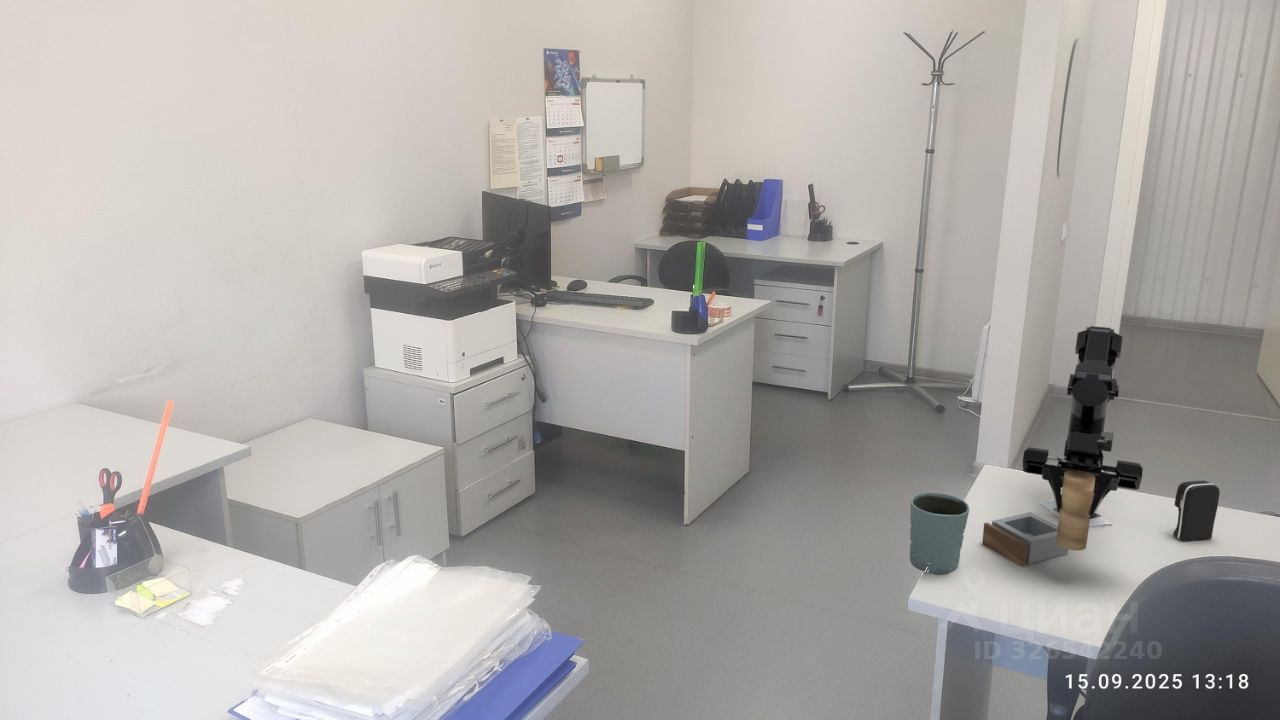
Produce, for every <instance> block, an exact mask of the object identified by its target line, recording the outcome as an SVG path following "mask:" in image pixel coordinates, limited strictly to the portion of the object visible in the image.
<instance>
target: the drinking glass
mask: <svg viewBox="0 0 1280 720" xmlns="http://www.w3.org/2000/svg"><path fill="white" fill-rule="evenodd" d="M909 502H910V508H909V509H910V529H909V530H910V547H909V561H910V563H911V565H912V566H913V567H914V568H915V569H917V570H918V571H922V572H924V571H925V570H926V568H927V567H928V568H927V570H926V572H925V573H927V571H928V570H929V571H928V572H929V573H928V574H932V575H948V574H951V573H953V572H955V571H956V570H957V569H958V568H959V563H960V558H961V549H962V547H963V542H964V537H965V536H964V533H965V530H966V527H967V523H968V518H969V513H970V506H969V504H968V503H967V502H966V501H965V500H963V499H962V498H959V497H958V496H957V497H956V496H954V495H950V494H946V493H939V492H923V493H918V494H916V495H913V496H912V497H911V498H910V501H909ZM929 563H930V564H929Z"/></svg>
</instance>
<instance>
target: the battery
mask: <svg viewBox="0 0 1280 720" xmlns="http://www.w3.org/2000/svg"><path fill="white" fill-rule="evenodd" d="M1176 489H1177V490H1176V493H1175V499H1174V506H1175V507H1176V508H1178V509H1177V511H1178V514H1177V515H1178V517H1177V523H1176V524H1177V525H1176V528H1175V529H1174V531H1173V536H1174V537H1176V539H1178V540H1179V541H1183V542H1184V541H1201V540H1208V539H1212V538H1213V530H1214V525H1215V521H1216V516H1217V512H1218V506H1219V500H1220V492H1221V491H1220V488H1219V487H1218V486H1217V485H1216V484H1214V483H1211V482H1210V481H1206V480H1191V481H1184V482H1181V483H1180V484H1179V485H1178V487H1177V488H1176Z"/></svg>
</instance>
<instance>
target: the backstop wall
mask: <svg viewBox="0 0 1280 720" xmlns="http://www.w3.org/2000/svg"><path fill="white" fill-rule="evenodd" d="M981 544H982V545H983V546H985V547H987V548H989V549H990V550H992V551H994V552H995V553H997V554H998V555H999V554H1000V556H1002V557H1004V558H1006V559H1007V560H1009V561H1011V562H1013V563H1015V564H1017V565H1018V566H1020V567H1022V568H1024V567H1026V566H1027V563H1026V558H1027V549H1028V544H1026V543H1024V542H1022V541H1021V540H1019V539H1017V538H1015V537H1013V536H1011V535H1010V534H1008V533H1006V532H1004V531H1002V530H1000V529H999V528H997V527H995V526H993V525H992V523H989V522H983V532H982V543H981Z"/></svg>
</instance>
